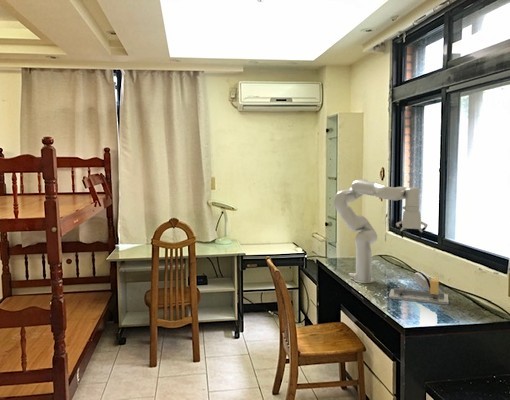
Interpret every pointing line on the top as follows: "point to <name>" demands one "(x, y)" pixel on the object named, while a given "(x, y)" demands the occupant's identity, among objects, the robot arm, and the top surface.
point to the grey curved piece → (423, 280)
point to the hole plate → (419, 298)
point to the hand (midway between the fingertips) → (411, 238)
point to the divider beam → (415, 292)
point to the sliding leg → (434, 286)
